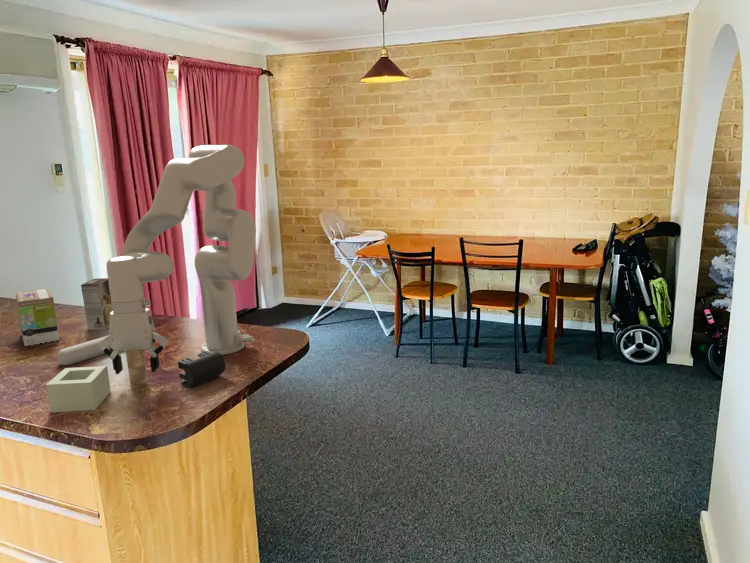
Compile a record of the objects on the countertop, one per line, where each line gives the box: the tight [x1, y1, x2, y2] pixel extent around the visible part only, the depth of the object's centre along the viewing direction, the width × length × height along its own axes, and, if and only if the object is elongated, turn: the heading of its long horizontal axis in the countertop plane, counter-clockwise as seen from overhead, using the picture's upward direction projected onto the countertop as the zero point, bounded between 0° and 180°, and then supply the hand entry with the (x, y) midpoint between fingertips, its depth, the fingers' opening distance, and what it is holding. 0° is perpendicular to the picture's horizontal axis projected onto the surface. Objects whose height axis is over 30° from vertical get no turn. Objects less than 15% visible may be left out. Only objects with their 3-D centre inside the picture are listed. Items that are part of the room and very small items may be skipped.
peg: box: [125, 350, 148, 390], centre depth 143 cm, size 4×4×12 cm
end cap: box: [177, 352, 226, 388], centre depth 146 cm, size 10×7×7 cm
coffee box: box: [80, 277, 113, 331], centre depth 192 cm, size 9×6×16 cm
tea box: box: [15, 288, 60, 347], centre depth 182 cm, size 15×10×15 cm
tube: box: [56, 334, 112, 366], centre depth 167 cm, size 5×5×25 cm
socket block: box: [45, 365, 112, 413], centre depth 135 cm, size 10×10×7 cm
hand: (137, 370), depth 143 cm, fingers open, 8 cm apart
